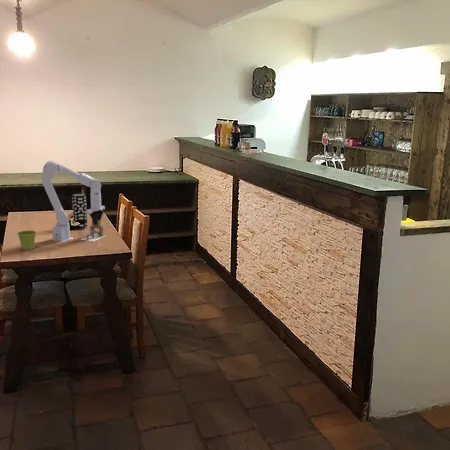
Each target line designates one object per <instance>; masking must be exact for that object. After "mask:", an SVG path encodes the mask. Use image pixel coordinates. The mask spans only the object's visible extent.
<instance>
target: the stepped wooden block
mask: <svg viewBox="0 0 450 450" xmlns="http://www.w3.org/2000/svg"><path fill="white" fill-rule="evenodd" d="M101 221H102V220H101ZM101 221H100V220H99V219H98V222H97V225H96V224H93V221H92V220H91V224H90V225H89V229H90V230H89V234H90V233H91V231H92V230H95V229H98V231H99V236H103V235H104V225H101V224H102V223H101Z"/></svg>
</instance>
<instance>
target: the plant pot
mask: <svg viewBox="0 0 450 450" xmlns="http://www.w3.org/2000/svg"><path fill="white" fill-rule="evenodd" d="M36 234H37V231H36V230H23V231H22V230H21V231H19V232H17V236H18V239H19V242H20V246H21V249H22V250H24V251H30V250H34V249H35V242H36V241H35V240H36V236H37V235H36Z"/></svg>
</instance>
